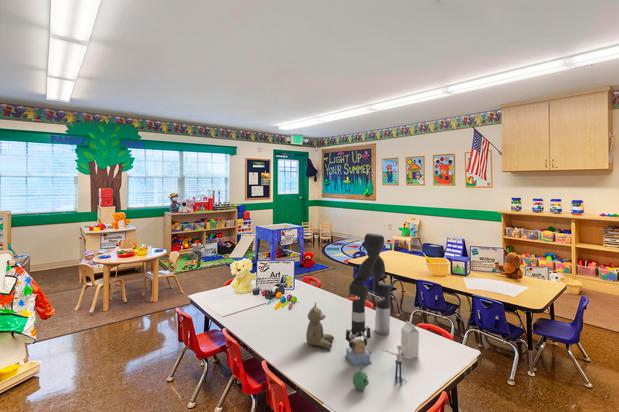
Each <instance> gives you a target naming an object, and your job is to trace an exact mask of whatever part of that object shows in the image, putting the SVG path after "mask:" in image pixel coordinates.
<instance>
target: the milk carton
mask: <svg viewBox="0 0 619 412" xmlns="http://www.w3.org/2000/svg"><path fill="white" fill-rule="evenodd" d="M400 328H401V329H400V331H401V332H400V334H401V337H400V346H401V348H402V349H401V351H400V354H402V356H405V357H408V358H411V359H415V358H419V352H420V350H419V346H420V344H419V343H420V331H418V329H416V326H415V324H412V323H411V322H409V321H408V320H406V322H405V323H404V324H403V326H402V327H400Z"/></svg>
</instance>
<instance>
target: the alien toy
mask: <svg viewBox="0 0 619 412" xmlns="http://www.w3.org/2000/svg"><path fill="white" fill-rule="evenodd" d="M359 369H360V370H357V371H355V372H354V373H353V376H352V384H353V387H354V388H355V389H357V390H358V391H363V390H365V388H366V387H367V386H368V385H369V383H370V381H369V379H368V375H367V373H366V372H365V371H363V370H362V369H363V365H360V366H359Z"/></svg>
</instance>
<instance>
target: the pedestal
mask: <svg viewBox="0 0 619 412" xmlns="http://www.w3.org/2000/svg"><path fill="white" fill-rule="evenodd" d="M345 351H346V354H344V357H345V358H346V359H347V361H348V362H349V364H350V365H351V366H352V367H353V368H354V367H358V366H359V367H360V366H364V365H365V366H366V365H370V364H372V363H373V362H372V361H371V353H370V352H369V350H367V349H366V348H365V353H361V354H355V353H354V351H353V350H352V348H350V347H347V348H346V350H345Z"/></svg>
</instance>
